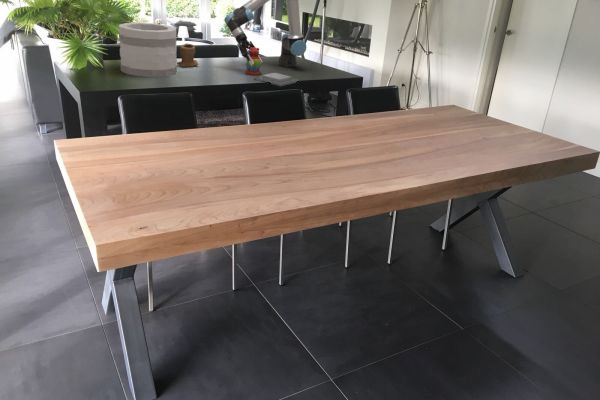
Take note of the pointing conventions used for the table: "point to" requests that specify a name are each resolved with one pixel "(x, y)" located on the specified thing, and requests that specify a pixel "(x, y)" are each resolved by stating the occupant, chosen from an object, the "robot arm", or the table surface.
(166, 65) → the storage basket
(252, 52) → the stacking bear
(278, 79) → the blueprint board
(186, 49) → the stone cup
